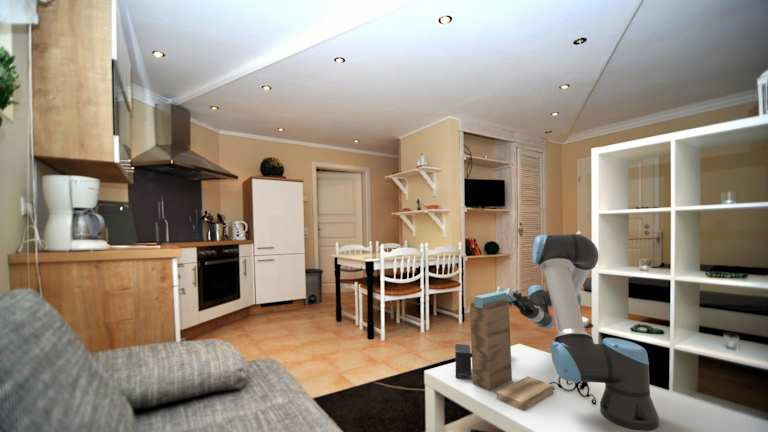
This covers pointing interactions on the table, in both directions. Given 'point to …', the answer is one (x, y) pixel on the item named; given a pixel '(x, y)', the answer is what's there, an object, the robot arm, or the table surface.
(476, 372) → the stand
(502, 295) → the rod
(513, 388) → the oak board
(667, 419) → the table surface
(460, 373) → the small box
